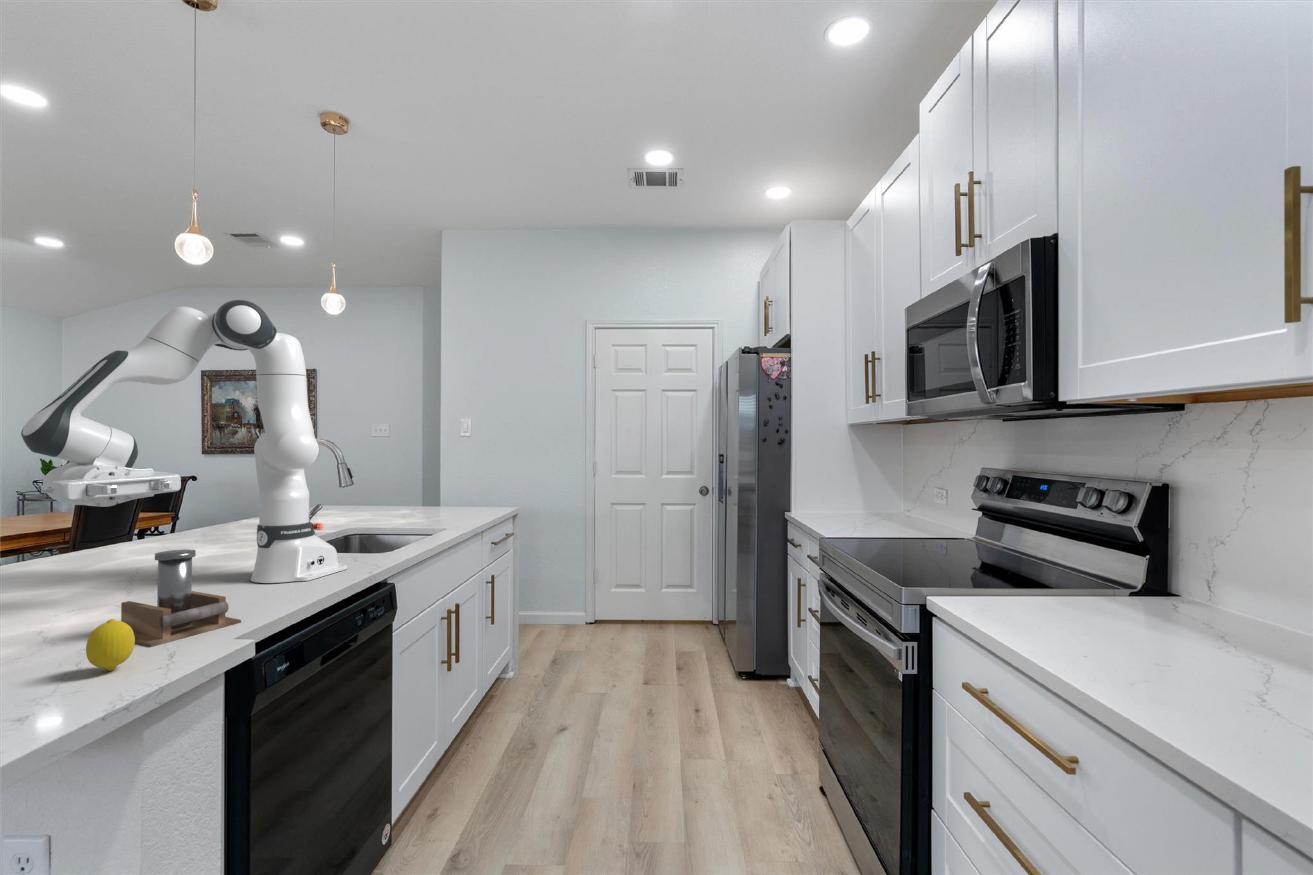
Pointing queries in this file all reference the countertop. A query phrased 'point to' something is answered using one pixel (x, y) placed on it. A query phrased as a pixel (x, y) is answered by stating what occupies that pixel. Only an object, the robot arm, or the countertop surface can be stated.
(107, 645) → the lemon
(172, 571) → the hinge pin
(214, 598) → the brown wooden holder
